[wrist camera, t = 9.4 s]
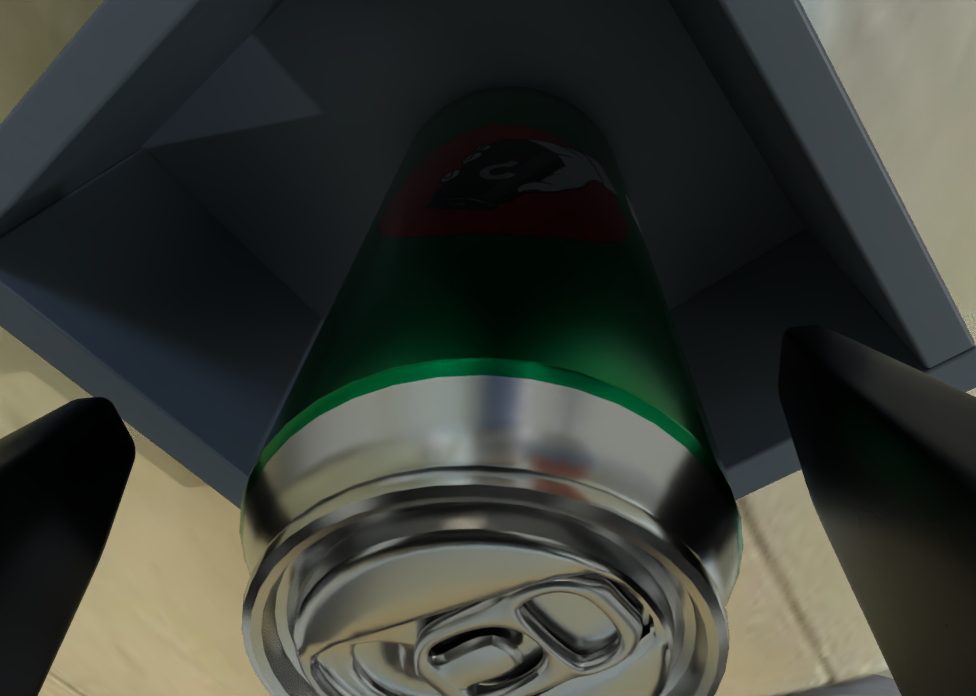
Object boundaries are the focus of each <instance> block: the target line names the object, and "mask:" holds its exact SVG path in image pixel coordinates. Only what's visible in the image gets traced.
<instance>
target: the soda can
mask: <svg viewBox="0 0 976 696" xmlns="http://www.w3.org/2000/svg"><path fill="white" fill-rule="evenodd" d="M240 537H241V543H242V548H243V554H244V559H245V562H246V565H247V568H248V571H249V574H250V578H249V581H248V584H247V587H246V590H245V593H244V598H243V614H242V634H243V639H244V645H245V650H246V654H247V656H248V658H249V660H250V663H251V665H252V667H253V669H254V672H255V674H256V675H257V677H258V678H259V680H260V681H261V683H262V684H263V685H264V687H265V688H266V690H267V691H268V693H269V694H270V695H271V696H714V695H715V693H716V691H717V689H718V686H719V684H720V682H721V679H722V677H723V675H724V673H725V669H726V663H727V656H728V650H729V638H730V637H729V627H728V617H727V611H726V608H725V607H726V604H727V602H728V600H729V598H730V595H731V593H732V590H733V588H734V585H735V583H736V580H737V578H738V575H739V570H740V563H741V557H742V550H743V538H742V525H741V516H740V513H739V510H738V507H737V503H736V500H735V497H734V494H733V491H732V488H731V485H730V482H729V479H728V476H727V474H726V471H725V468H724V465H723V462H722V459H721V457H720V454H719V451H718V448H717V445H716V442H715V439H714V437H713V434H712V431H711V428H710V425H709V422H708V420H707V417H706V414H705V411H704V408H703V405H702V402H701V400H700V397H699V394H698V391H697V388H696V385H695V382H694V380H693V377H692V374H691V371H690V368H689V365H688V363H687V360H686V357H685V354H684V351H683V348H682V345H681V343H680V340H679V337H678V334H677V331H676V328H675V326H674V323H673V320H672V317H671V314H670V311H669V308H668V306H667V303H666V300H665V297H664V294H663V291H662V288H661V286H660V283H659V280H658V277H657V274H656V271H655V269H654V266H653V263H652V260H651V257H650V254H649V251H648V249H647V246H646V243H645V240H644V237H643V234H642V232H641V229H640V226H639V223H638V220H637V217H636V214H635V212H634V209H633V206H632V203H631V200H630V197H629V194H628V192H627V189H626V186H625V183H624V180H623V177H622V175H621V172H620V169H619V166H618V163H617V160H616V157H615V155H614V152H613V150H612V148H611V146H610V145H609V143H608V141H607V139H606V137H605V136H604V134H603V133H602V132H601V131H600V129H599V128H598V127H597V125H596V124H595V123H594V122H593V121H592V120H591V119H590V118H589V117H588V116H587V115H586V114H584V113H583V112H582V111H581V110H580V109H578V108H577V107H575V106H574V105H572V104H571V103H569V102H568V101H566V100H564V99H562V98H560V97H557V96H555V95H553V94H551V93H548V92H545V91H541V90H537V89H533V88H528V87H517V86H504V87H491V88H487V89H483V90H479V91H475V92H472V93H469V94H467V95H465V96H463V97H460V98H458V99H456V100H454V101H452V102H451V103H449V104H448V105H446V106H445V107H443V108H442V109H440V110H439V111H438V112H437V113H436V114H434V115H433V116H432V117H431V118H430V119H429V120H428V121H427V122H426V123H425V124H424V126H423V127H422V128H421V129H420V131H419V132H418V133H417V134H416V136H415V137H414V139H413V141H412V143H411V145H410V147H409V148H408V150H407V152H406V154H405V156H404V158H403V160H402V162H401V164H400V166H399V169H398V171H397V173H396V175H395V177H394V179H393V181H392V183H391V185H390V187H389V189H388V191H387V193H386V195H385V197H384V199H383V201H382V203H381V206H380V208H379V210H378V212H377V214H376V216H375V218H374V220H373V222H372V224H371V226H370V228H369V230H368V232H367V234H366V236H365V238H364V240H363V242H362V245H361V247H360V249H359V251H358V253H357V255H356V257H355V259H354V261H353V263H352V265H351V267H350V269H349V271H348V273H347V275H346V277H345V279H344V281H343V284H342V286H341V288H340V290H339V292H338V294H337V296H336V298H335V300H334V302H333V304H332V306H331V308H330V310H329V312H328V314H327V316H326V318H325V320H324V323H323V325H322V327H321V329H320V331H319V333H318V335H317V337H316V339H315V341H314V343H313V345H312V347H311V349H310V351H309V353H308V355H307V357H306V360H305V362H304V364H303V366H302V368H301V370H300V372H299V374H298V376H297V378H296V380H295V382H294V384H293V386H292V388H291V390H290V392H289V394H288V396H287V399H286V401H285V403H284V405H283V407H282V409H281V411H280V413H279V415H278V417H277V419H276V421H275V423H274V425H273V427H272V429H271V431H270V433H269V435H268V438H267V440H266V442H265V444H264V446H263V448H262V450H261V452H260V454H259V456H258V458H257V460H256V462H255V464H254V466H253V468H252V470H251V472H250V475H249V478H248V481H247V485H246V488H245V492H244V495H243V498H242V502H241V513H240Z"/></svg>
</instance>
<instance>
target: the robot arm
mask: <svg viewBox="0 0 976 696" xmlns="http://www.w3.org/2000/svg"><path fill="white" fill-rule="evenodd" d="M778 392H779V398H780V402H781V405H782V409H783V412H784V415H785V418H786V421H787V424H788V428H789V431H790V434H791V437H792V440H793V443H794V447H795V450H796V453H797V456H798V459H799V462H800V465H801V469H802V472H803V475H804V478H805V481H806V484H807V487H808V490H809V493H810V496H811V499H812V502H813V505H814V507H815V509H816V512H817V514H818V516H819V519H820V521H821V523H822V525H823V527H824V529H825V532H826V534H827V536H828V538H829V540H830V542H831V545H832V547H833V549H834V551H835V553H836V555H837V557H838V560H839V562H840V564H841V566H842V568H843V570H844V573H845V575H846V577H847V579H848V581H849V583H850V585H851V588H852V590H853V592H854V594H855V596H856V598H857V601H858V603H859V605H860V607H861V609H862V611H863V613H864V616H865V618H866V620H867V622H868V624H869V626H870V629H871V631H872V633H873V635H874V637H875V639H876V641H877V644H878V646H879V648H880V650H881V652H882V654H883V657H884V659H885V661H886V663H887V665H888V667H889V669H890V672H891V674H892V676H893V678H894V680H895V682H896V684H897V687H898V689H899V691H900V693H901V695H902V696H976V397H974V396H972V395H970V394H968V393H966V392H964V391H962V390H959V389H957V388H955V387H953V386H951V385H949V384H947V383H945V382H942V381H940V380H938V379H936V378H934V377H932V376H930V375H927V374H925V373H923V372H921V371H919V370H917V369H915V368H912V367H910V366H908V365H906V364H904V363H902V362H900V361H898V360H895V359H893V358H891V357H889V356H887V355H885V354H883V353H880V352H878V351H876V350H874V349H872V348H870V347H868V346H866V345H863V344H861V343H859V342H857V341H855V340H853V339H851V338H848V337H846V336H844V335H842V334H840V333H838V332H836V331H833V330H831V329H829V328H827V327H825V326H822V325H806V326H797V327H790V328H788V329H786V330H785V332H784V334H783V336H782V342H781V354H780V365H779V377H778ZM134 460H135V445H134V442H133V439H132V437H131V436H130V434H129V432H128V430H127V428H126V426H125V425H124V423H123V421H122V419H121V417H120V415H119V414H118V412H117V410H116V408H115V406H114V405H113V403H112V402H111V401H110V400H108V399H107V398H104V397H93V398H83V399H76V400H73V401H71V402H69V403H67V404H65V405H63V406H61V407H59V408H58V409H56V410H54V411H52V412H50V413H48V414H46V415H44V416H43V417H41V418H39V419H37V420H35V421H33V422H31V423H29V424H28V425H26V426H24V427H22V428H20V429H18V430H16V431H14V432H13V433H11V434H9V435H7V436H5V437H3V438H1V439H0V696H38V694H39V692H40V690H41V687H42V685H43V683H44V681H45V679H46V676H47V674H48V672H49V670H50V668H51V666H52V663H53V661H54V659H55V657H56V655H57V652H58V650H59V648H60V646H61V644H62V642H63V639H64V637H65V635H66V633H67V631H68V628H69V626H70V624H71V622H72V620H73V618H74V615H75V613H76V611H77V609H78V607H79V604H80V602H81V600H82V598H83V596H84V594H85V591H86V589H87V587H88V585H89V583H90V580H91V578H92V576H93V574H94V572H95V569H96V567H97V565H98V562H99V560H100V558H101V555H102V553H103V550H104V547H105V545H106V542H107V539H108V536H109V534H110V531H111V528H112V525H113V522H114V519H115V516H116V513H117V510H118V507H119V504H120V501H121V498H122V495H123V492H124V489H125V486H126V484H127V481H128V478H129V475H130V472H131V469H132V466H133V463H134Z"/></svg>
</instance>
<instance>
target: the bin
mask: <svg viewBox="0 0 976 696" xmlns="http://www.w3.org/2000/svg"><path fill="white" fill-rule="evenodd" d="M504 86H517V87H528V88H533V89H537V90H541V91H545V92H548V93H551V94H553V95H555V96H557V97H560V98H562V99H564V100H566V101H568V102H569V103H571V104H572V105H574V106H575V107H577V108H578V109H580V110H581V111H582V112H583V113H584V114H586V115H587V116H588V117H589V118H590V119H591V120H592V121H593V122H594V123H595V124H596V125H597V127H598V128H599V129H600V131H601V132H602V133H603V134H604V136H605V137H606V139H607V141H608V143H609V145H610V146H611V148H612V150H613V152H614V155H615V157H616V160H617V163H618V166H619V169H620V172H621V175H622V177H623V180H624V183H625V186H626V189H627V192H628V194H629V197H630V200H631V203H632V206H633V209H634V212H635V214H636V217H637V220H638V223H639V226H640V229H641V232H642V234H643V237H644V240H645V243H646V246H647V249H648V251H649V254H650V257H651V260H652V263H653V266H654V269H655V271H656V274H657V277H658V280H659V283H660V286H661V288H662V291H663V294H664V297H665V300H666V303H667V306H668V308H669V311H670V314H671V317H672V320H673V323H674V326H675V328H676V331H677V334H678V337H679V340H680V343H681V345H682V348H683V351H684V354H685V357H686V360H687V363H688V365H689V368H690V371H691V374H692V377H693V380H694V382H695V385H696V388H697V391H698V394H699V397H700V400H701V402H702V405H703V408H704V411H705V414H706V417H707V420H708V422H709V425H710V428H711V431H712V434H713V437H714V439H715V442H716V445H717V448H718V451H719V454H720V457H721V459H722V462H723V465H724V468H725V471H726V474H727V476H728V479H729V482H730V485H731V488H732V491H733V494H734V497H735V500H737V499H739V498H741V497H743V496H745V495H747V494H749V493H751V492H754V491H756V490H758V489H760V488H762V487H764V486H766V485H769V484H771V483H773V482H775V481H777V480H779V479H781V478H783V477H786V476H788V475H790V474H792V473H794V472H796V471H798V470H801V465H800V462H799V459H798V456H797V453H796V450H795V447H794V443H793V440H792V437H791V434H790V431H789V428H788V424H787V421H786V418H785V415H784V412H783V409H782V405H781V402H780V398H779V392H778V377H779V365H780V354H781V342H782V336H783V334H784V332H785V330H786V329H788V328H790V327H797V326H806V325H822V326H825V327H827V328H829V329H831V330H833V331H836V332H838V333H840V334H842V335H844V336H846V337H848V338H851V339H853V340H855V341H857V342H859V343H861V344H863V345H866V346H868V347H870V348H872V349H874V350H876V351H878V352H880V353H883V354H885V355H887V356H889V357H891V358H893V359H895V360H898V361H900V362H902V363H904V364H906V365H908V366H910V367H912V368H915V369H917V370H919V371H921V372H923V373H925V374H927V375H930V376H932V377H934V378H936V379H938V380H940V381H942V382H945V383H947V384H949V385H951V386H953V387H955V388H957V389H959V390H962V391H964V392H967V391H969V390H971V389H973V388H976V346H975V345H974V340H973V338H972V336H971V334H970V332H969V330H968V328H967V326H966V324H965V322H964V321H963V319H962V317H961V315H960V313H959V311H958V309H957V307H956V305H955V303H954V301H953V299H952V297H951V295H950V293H949V291H948V289H947V287H946V285H945V284H944V282H943V280H942V278H941V276H940V274H939V272H938V270H937V268H936V266H935V264H934V262H933V260H932V258H931V256H930V254H929V252H928V250H927V248H926V246H925V245H924V243H923V241H922V239H921V237H920V235H919V233H918V231H917V229H916V227H915V225H914V223H913V221H912V219H911V217H910V215H909V213H908V211H907V209H906V208H905V206H904V204H903V202H902V200H901V198H900V196H899V194H898V192H897V190H896V188H895V186H894V184H893V182H892V180H891V178H890V176H889V174H888V172H887V171H886V169H885V167H884V165H883V163H882V161H881V159H880V157H879V155H878V153H877V151H876V149H875V147H874V145H873V143H872V141H871V139H870V137H869V135H868V134H867V132H866V130H865V128H864V126H863V124H862V122H861V120H860V118H859V116H858V114H857V112H856V110H855V108H854V106H853V104H852V102H851V100H850V98H849V96H848V95H847V93H846V91H845V89H844V87H843V85H842V83H841V81H840V79H839V77H838V75H837V73H836V71H835V69H834V67H833V65H832V63H831V61H830V59H829V58H828V56H827V54H826V52H825V50H824V48H823V46H822V44H821V42H820V40H819V38H818V36H817V34H816V32H815V30H814V28H813V26H812V24H811V22H810V21H809V19H808V17H807V15H806V13H805V11H804V9H803V7H802V5H801V3H800V1H799V0H104V1H103V2H102V4H101V5H100V6H99V7H98V8H97V9H96V11H95V12H94V13H93V14H92V15H91V17H90V18H89V19H88V20H87V21H86V23H85V24H84V25H83V26H82V27H81V29H80V30H79V31H78V32H77V33H76V35H75V36H74V37H73V38H72V39H71V41H70V42H69V43H68V44H67V45H66V46H65V48H64V49H63V50H62V51H61V52H60V54H59V55H58V56H57V57H56V58H55V60H54V61H53V62H52V63H51V64H50V66H49V67H48V68H47V69H46V70H45V72H44V73H43V74H42V75H41V76H40V78H39V79H38V80H37V81H36V82H35V83H34V85H33V86H32V87H31V88H30V89H29V91H28V92H27V93H26V94H25V95H24V97H23V98H22V99H21V100H20V101H19V103H18V104H17V105H16V106H15V107H14V109H13V110H12V111H11V112H10V113H9V115H8V116H7V117H6V118H5V119H4V121H3V122H2V123H1V124H0V326H1V327H3V328H4V329H5V330H6V331H8V332H9V333H10V334H12V335H13V336H14V337H16V338H17V339H18V340H20V341H21V342H22V343H23V344H25V345H26V346H27V347H29V348H30V349H31V350H33V351H34V352H35V353H37V354H38V355H39V356H40V357H42V358H43V359H44V360H46V361H47V362H48V363H50V364H51V365H52V366H54V367H55V368H56V369H58V370H59V371H60V372H61V373H63V374H64V375H65V376H67V377H68V378H69V379H71V380H72V381H73V382H75V383H76V384H77V385H78V386H80V387H81V388H82V389H84V390H85V391H86V392H88V393H89V394H90V395H92V396H93V397H104V398H107V399H108V400H110V401H111V402H112V403H113V405H114V406H115V408H116V410H117V412H118V414H119V415H120V417H121V418H122V419H123V420H124V421H126V422H127V423H128V424H130V425H131V426H132V427H133V428H135V429H136V430H137V431H139V432H140V433H141V434H143V435H144V436H145V437H147V438H148V439H149V440H150V441H152V442H153V443H154V444H156V445H157V446H158V447H160V448H161V449H162V450H164V451H165V452H166V453H167V454H169V455H170V456H171V457H173V458H174V459H175V460H177V461H178V462H179V463H181V464H182V465H183V466H184V467H186V468H187V469H188V470H190V471H191V472H192V473H194V474H195V475H196V476H198V477H199V478H200V479H202V480H203V481H204V482H205V483H207V484H208V485H209V486H211V487H212V488H213V489H215V490H216V491H217V492H219V493H220V494H221V495H222V496H224V497H225V498H226V499H228V500H229V501H230V502H232V503H233V504H234V505H236V506H237V507H238V508H239V509H241V502H242V498H243V495H244V492H245V488H246V485H247V481H248V478H249V475H250V472H251V470H252V468H253V466H254V464H255V462H256V460H257V458H258V456H259V454H260V452H261V450H262V448H263V446H264V444H265V442H266V440H267V438H268V435H269V433H270V431H271V429H272V427H273V425H274V423H275V421H276V419H277V417H278V415H279V413H280V411H281V409H282V407H283V405H284V403H285V401H286V399H287V396H288V394H289V392H290V390H291V388H292V386H293V384H294V382H295V380H296V378H297V376H298V374H299V372H300V370H301V368H302V366H303V364H304V362H305V360H306V357H307V355H308V353H309V351H310V349H311V347H312V345H313V343H314V341H315V339H316V337H317V335H318V333H319V331H320V329H321V327H322V325H323V323H324V320H325V318H326V316H327V314H328V312H329V310H330V308H331V306H332V304H333V302H334V300H335V298H336V296H337V294H338V292H339V290H340V288H341V286H342V284H343V281H344V279H345V277H346V275H347V273H348V271H349V269H350V267H351V265H352V263H353V261H354V259H355V257H356V255H357V253H358V251H359V249H360V247H361V245H362V242H363V240H364V238H365V236H366V234H367V232H368V230H369V228H370V226H371V224H372V222H373V220H374V218H375V216H376V214H377V212H378V210H379V208H380V206H381V203H382V201H383V199H384V197H385V195H386V193H387V191H388V189H389V187H390V185H391V183H392V181H393V179H394V177H395V175H396V173H397V171H398V169H399V166H400V164H401V162H402V160H403V158H404V156H405V154H406V152H407V150H408V148H409V147H410V145H411V143H412V141H413V139H414V137H415V136H416V134H417V133H418V132H419V131H420V129H421V128H422V127H423V126H424V124H425V123H426V122H427V121H428V120H429V119H430V118H431V117H432V116H433V115H434V114H436V113H437V112H438V111H439V110H440V109H442V108H443V107H445V106H446V105H448V104H449V103H451V102H452V101H454V100H456V99H458V98H460V97H463V96H465V95H467V94H469V93H472V92H475V91H479V90H483V89H487V88H491V87H504Z"/></svg>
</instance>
